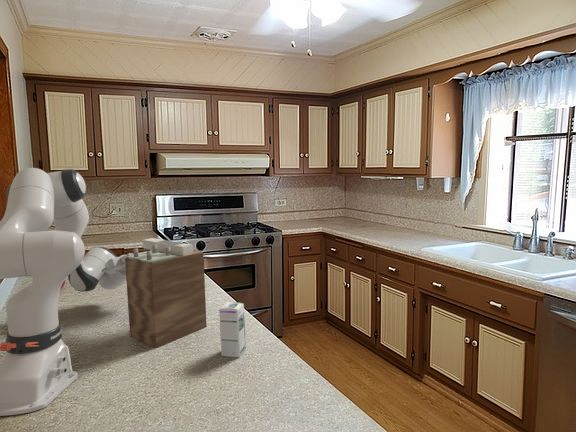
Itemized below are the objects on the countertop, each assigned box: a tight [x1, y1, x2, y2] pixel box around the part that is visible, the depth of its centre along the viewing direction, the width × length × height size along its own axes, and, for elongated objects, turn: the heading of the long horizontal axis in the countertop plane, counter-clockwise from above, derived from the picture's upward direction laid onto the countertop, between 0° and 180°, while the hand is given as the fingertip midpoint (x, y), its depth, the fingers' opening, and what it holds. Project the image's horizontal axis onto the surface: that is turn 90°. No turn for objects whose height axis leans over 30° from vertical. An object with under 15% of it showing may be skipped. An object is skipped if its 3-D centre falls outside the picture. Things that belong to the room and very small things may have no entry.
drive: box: [142, 237, 194, 256], centre depth 142 cm, size 22×4×3 cm, turn 53°
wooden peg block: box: [125, 245, 208, 349], centre depth 137 cm, size 14×20×29 cm
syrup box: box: [218, 301, 247, 358], centre depth 122 cm, size 6×6×14 cm
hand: (143, 252), depth 151 cm, fingers open, 8 cm apart
